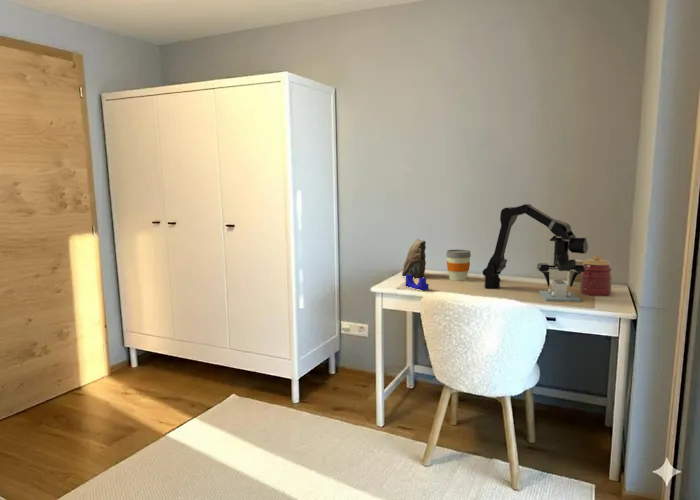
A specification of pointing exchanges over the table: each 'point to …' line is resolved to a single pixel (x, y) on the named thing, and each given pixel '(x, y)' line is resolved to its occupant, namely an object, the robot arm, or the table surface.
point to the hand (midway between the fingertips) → (559, 286)
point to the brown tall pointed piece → (415, 260)
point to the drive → (559, 288)
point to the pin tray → (551, 297)
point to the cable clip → (421, 285)
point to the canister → (596, 277)
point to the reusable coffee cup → (458, 264)
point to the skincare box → (578, 277)
